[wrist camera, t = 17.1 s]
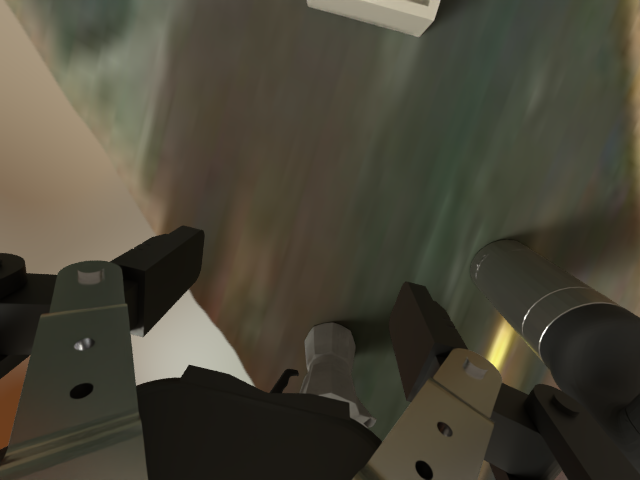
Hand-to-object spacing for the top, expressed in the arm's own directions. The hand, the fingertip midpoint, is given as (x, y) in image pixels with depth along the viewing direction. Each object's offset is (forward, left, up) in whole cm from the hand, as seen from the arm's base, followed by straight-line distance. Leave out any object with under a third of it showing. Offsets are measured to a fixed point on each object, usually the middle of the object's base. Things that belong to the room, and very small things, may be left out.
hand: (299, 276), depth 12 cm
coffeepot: (-7, +30, -33) cm, 45 cm away
